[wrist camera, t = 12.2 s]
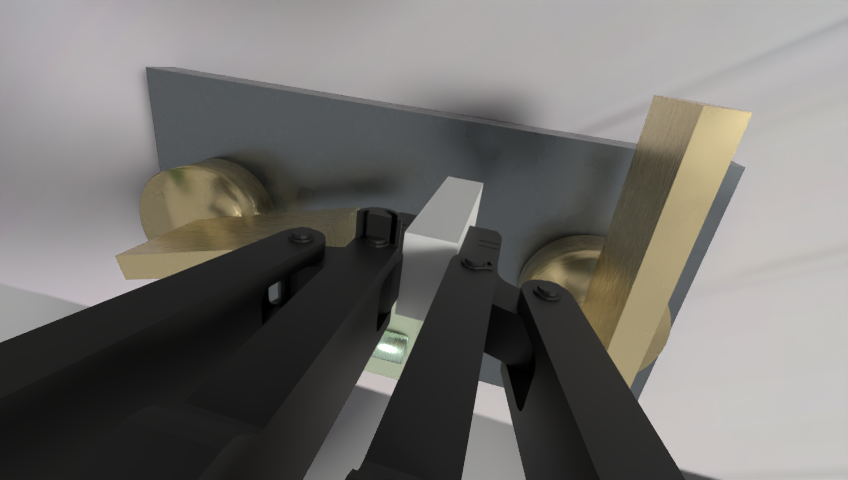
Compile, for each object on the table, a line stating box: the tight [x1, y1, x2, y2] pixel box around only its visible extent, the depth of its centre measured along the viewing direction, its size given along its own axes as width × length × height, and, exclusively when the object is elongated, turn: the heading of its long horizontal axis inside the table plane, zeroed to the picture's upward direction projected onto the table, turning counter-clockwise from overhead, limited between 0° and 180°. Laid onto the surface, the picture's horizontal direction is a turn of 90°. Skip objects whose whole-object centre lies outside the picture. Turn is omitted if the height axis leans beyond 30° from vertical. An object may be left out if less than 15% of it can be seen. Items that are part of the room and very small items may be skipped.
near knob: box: [517, 95, 752, 388], centre depth 17 cm, size 14×7×8 cm, turn 173°
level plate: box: [146, 67, 745, 401], centre depth 24 cm, size 32×16×6 cm, turn 83°
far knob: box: [115, 159, 360, 280], centre depth 22 cm, size 14×7×8 cm, turn 99°
